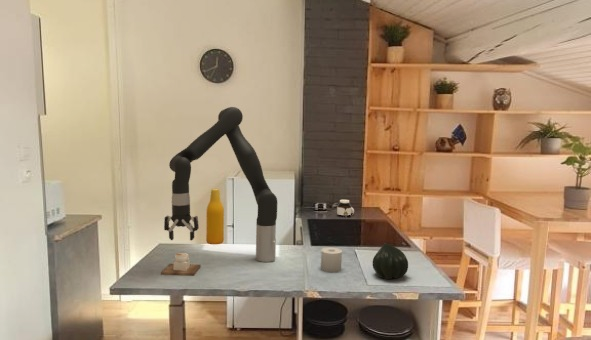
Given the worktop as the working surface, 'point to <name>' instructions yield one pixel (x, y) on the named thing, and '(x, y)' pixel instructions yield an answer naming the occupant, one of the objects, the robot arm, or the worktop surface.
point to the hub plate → (189, 272)
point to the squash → (390, 262)
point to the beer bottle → (215, 219)
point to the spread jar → (344, 208)
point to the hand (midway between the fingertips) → (181, 239)
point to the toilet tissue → (331, 259)
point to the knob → (181, 261)
